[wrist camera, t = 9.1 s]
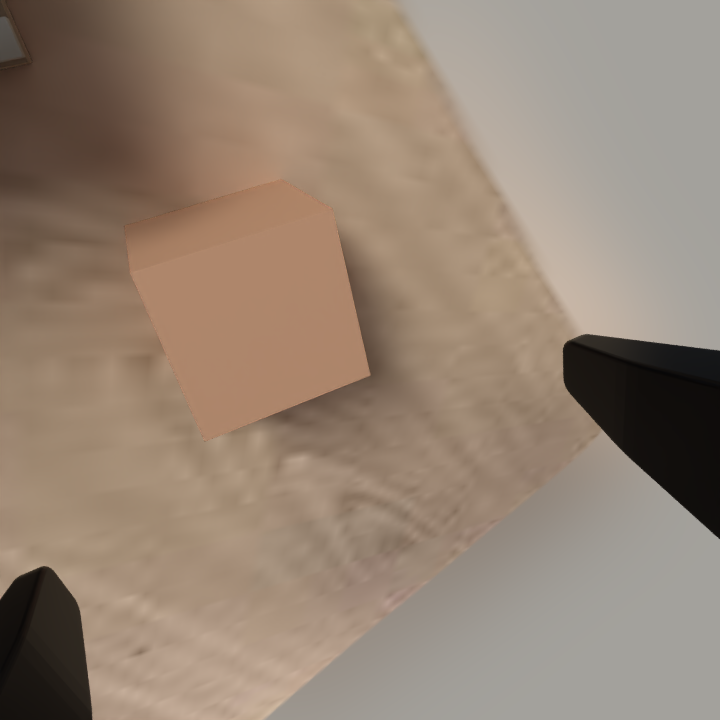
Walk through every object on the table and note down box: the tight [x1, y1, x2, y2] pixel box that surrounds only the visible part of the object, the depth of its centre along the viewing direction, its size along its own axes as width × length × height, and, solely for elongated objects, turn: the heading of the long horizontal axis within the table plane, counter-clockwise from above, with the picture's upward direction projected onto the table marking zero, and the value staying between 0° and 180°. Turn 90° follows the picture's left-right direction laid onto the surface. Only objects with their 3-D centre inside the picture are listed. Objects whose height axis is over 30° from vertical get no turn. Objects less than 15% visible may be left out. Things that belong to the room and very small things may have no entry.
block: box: [124, 179, 370, 441], centre depth 17 cm, size 5×5×5 cm
